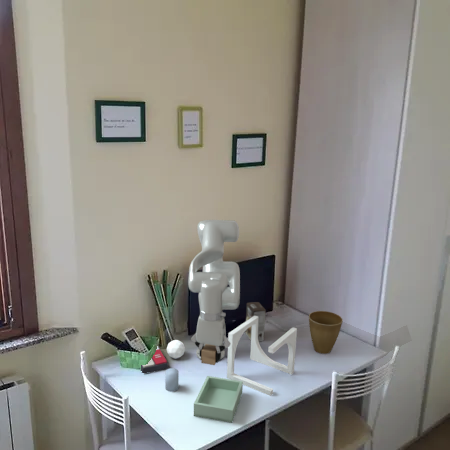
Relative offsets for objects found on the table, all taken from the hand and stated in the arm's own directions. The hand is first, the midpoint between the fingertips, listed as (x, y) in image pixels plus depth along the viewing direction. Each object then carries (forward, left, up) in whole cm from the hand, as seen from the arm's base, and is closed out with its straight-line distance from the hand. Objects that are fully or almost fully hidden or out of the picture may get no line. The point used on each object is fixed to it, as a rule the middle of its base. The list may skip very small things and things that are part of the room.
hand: (210, 359), depth 171 cm
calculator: (-18, -31, -18) cm, 40 cm away
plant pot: (-50, +40, -17) cm, 66 cm away
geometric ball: (-26, -22, -17) cm, 38 cm away
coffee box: (-53, +8, -17) cm, 56 cm away
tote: (+1, +4, -17) cm, 18 cm away
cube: (0, 0, -1) cm, 1 cm away
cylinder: (-4, -16, -17) cm, 24 cm away
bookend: (-22, +16, -17) cm, 32 cm away
